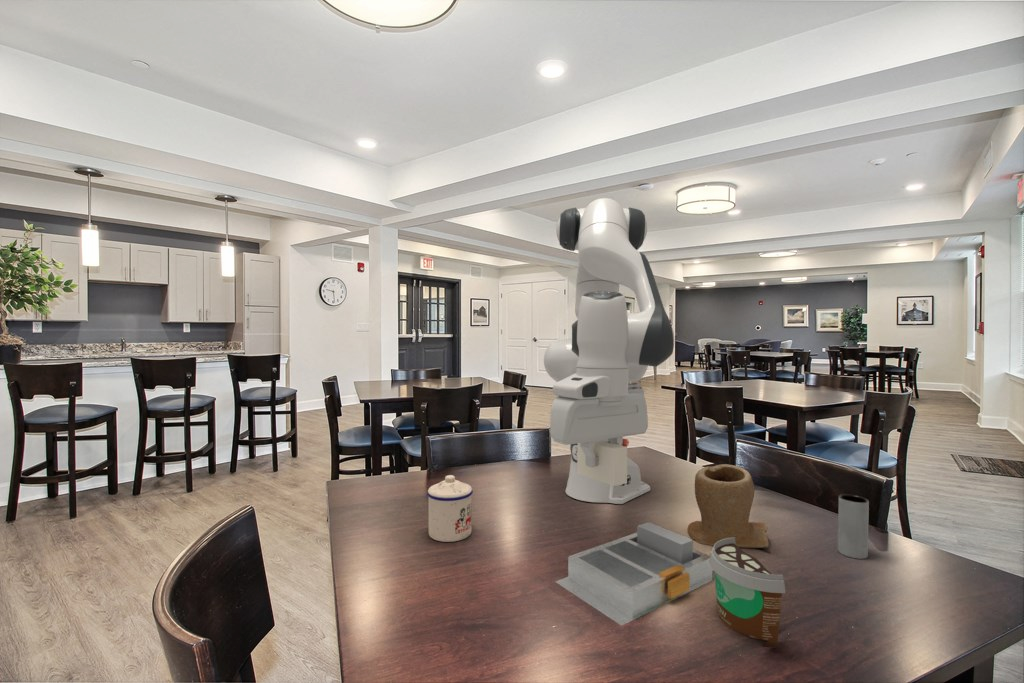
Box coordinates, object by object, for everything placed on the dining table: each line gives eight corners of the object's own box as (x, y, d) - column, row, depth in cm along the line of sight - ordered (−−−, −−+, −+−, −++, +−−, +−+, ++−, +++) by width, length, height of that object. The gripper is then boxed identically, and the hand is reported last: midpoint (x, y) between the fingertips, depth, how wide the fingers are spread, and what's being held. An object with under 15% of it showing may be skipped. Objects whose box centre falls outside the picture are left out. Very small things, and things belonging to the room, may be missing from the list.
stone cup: (695, 555, 89) (696, 474, 88) (683, 529, 100) (684, 457, 100) (784, 562, 86) (786, 478, 86) (762, 534, 98) (763, 460, 97)
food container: (693, 602, 73) (693, 537, 73) (732, 601, 74) (733, 535, 73) (738, 658, 61) (739, 579, 60) (784, 655, 61) (785, 577, 61)
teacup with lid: (463, 545, 92) (462, 485, 92) (419, 540, 95) (419, 481, 94) (483, 521, 104) (483, 467, 104) (444, 517, 106) (444, 464, 106)
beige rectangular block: (589, 470, 88) (590, 437, 88) (626, 483, 81) (627, 447, 81) (577, 473, 86) (577, 439, 86) (614, 485, 79) (614, 449, 79)
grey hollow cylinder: (862, 550, 91) (863, 495, 91) (871, 560, 86) (872, 503, 86) (834, 546, 92) (835, 492, 92) (842, 556, 88) (843, 500, 88)
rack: (653, 549, 91) (653, 523, 91) (726, 582, 79) (726, 553, 79) (555, 587, 77) (555, 557, 77) (624, 635, 65) (625, 599, 65)
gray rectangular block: (648, 555, 86) (648, 521, 86) (692, 576, 79) (693, 539, 79) (637, 559, 85) (637, 525, 84) (681, 581, 77) (681, 544, 77)
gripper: (630, 380, 92) (629, 453, 92) (544, 385, 81) (544, 468, 81) (656, 383, 87) (656, 460, 87) (569, 388, 75) (569, 477, 75)
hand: (601, 464), depth 84 cm, fingers closed on beige rectangular block, 3 cm apart
